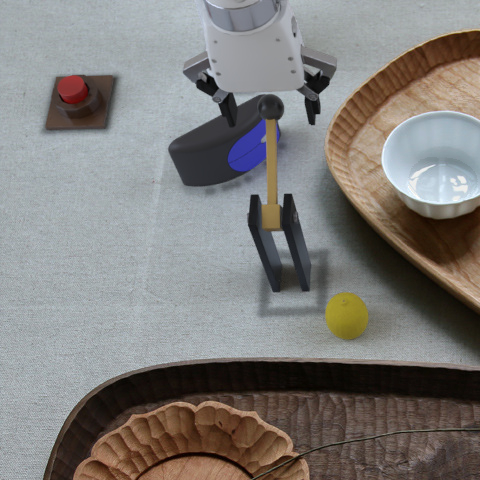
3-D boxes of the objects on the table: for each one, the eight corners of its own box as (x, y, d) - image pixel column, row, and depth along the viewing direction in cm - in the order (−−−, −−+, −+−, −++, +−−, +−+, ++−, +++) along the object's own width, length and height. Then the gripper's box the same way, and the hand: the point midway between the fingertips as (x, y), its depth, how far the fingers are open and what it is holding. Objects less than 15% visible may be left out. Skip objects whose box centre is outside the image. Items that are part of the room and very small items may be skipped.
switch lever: (260, 99, 98) (254, 90, 95) (286, 98, 98) (281, 89, 95) (262, 232, 99) (256, 227, 96) (288, 231, 99) (283, 227, 96)
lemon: (340, 356, 106) (333, 327, 99) (322, 323, 108) (314, 293, 101) (378, 338, 107) (373, 308, 100) (359, 305, 109) (353, 274, 102)
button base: (58, 79, 127) (51, 67, 125) (114, 78, 127) (108, 66, 124) (46, 130, 123) (39, 118, 121) (104, 129, 123) (98, 117, 121)
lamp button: (64, 84, 124) (59, 75, 122) (90, 83, 124) (85, 74, 122) (60, 104, 122) (55, 96, 121) (86, 103, 122) (81, 95, 121)
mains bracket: (267, 255, 113) (239, 178, 97) (324, 254, 113) (305, 177, 97) (262, 312, 109) (233, 242, 94) (321, 311, 109) (301, 240, 94)
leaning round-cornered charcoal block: (197, 206, 117) (178, 163, 108) (182, 185, 118) (162, 141, 109) (294, 153, 119) (282, 107, 111) (278, 133, 121) (266, 86, 112)
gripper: (327, -33, 83) (345, 91, 99) (161, -26, 84) (205, 95, 100) (324, 22, 80) (343, 140, 96) (152, 27, 81) (199, 144, 97)
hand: (273, 117), depth 98 cm, fingers open, 9 cm apart
